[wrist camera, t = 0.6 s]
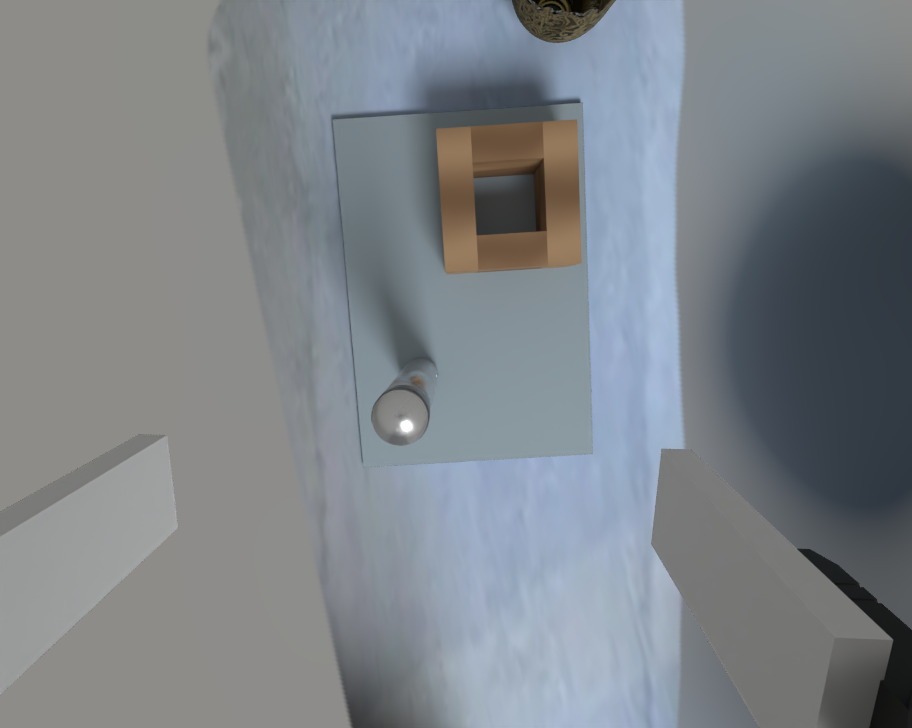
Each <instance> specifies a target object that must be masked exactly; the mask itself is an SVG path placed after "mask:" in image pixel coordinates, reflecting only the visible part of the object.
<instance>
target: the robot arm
mask: <svg viewBox="0 0 912 728" xmlns="http://www.w3.org/2000/svg"><path fill="white" fill-rule="evenodd" d="M177 528H178V524H177V516H176V507H175V498H174V490H173V481H172V473H171V464H170V456H169V448H168V439H167V435H144V434H139V435H137V436H135V437H134V438H132V439H130V440H128V441H126V442H125V443H123V444H121V445H119V446H117V447H116V448H114V449H112V450H110V451H108V452H107V453H105V454H103V455H101V456H100V457H98V458H96V459H94V460H92V461H90V462H89V463H87V464H85V465H83V466H81V467H80V468H78V469H76V470H74V471H73V472H71V473H69V474H67V475H65V476H63V477H62V478H60V479H58V480H56V481H54V482H53V483H51V484H49V485H48V486H46V487H44V488H42V489H40V490H38V491H36V492H35V493H33V494H31V495H29V496H28V497H26V498H24V499H22V500H20V501H18V502H17V503H15V504H13V505H11V506H10V507H8V508H6V509H4V510H3V511H1V512H0V695H1V694H2V693H3V692H4V691H5V690H6V689H7V688H8V687H9V686H11V685H12V683H14V682H15V681H16V680H17V679H18V678H19V677H20V676H21V675H22V674H23V673H24V672H25V671H26V670H27V669H29V668H30V667H31V666H32V665H33V664H34V663H35V662H36V661H37V660H38V659H39V658H40V657H41V656H42V655H43V654H44V653H46V652H47V651H48V650H49V649H50V648H51V647H52V646H53V645H54V644H55V643H56V642H57V641H58V640H59V639H60V638H61V637H63V636H64V635H65V634H66V633H67V632H68V631H69V630H70V629H71V628H72V627H73V626H74V625H75V624H76V623H77V622H78V621H80V619H82V618H83V617H84V616H85V615H86V614H87V613H88V612H89V611H90V610H91V609H92V608H93V607H94V606H95V605H97V603H99V602H100V601H101V600H102V599H103V598H104V597H105V596H106V595H107V594H108V593H109V592H110V591H111V590H112V589H114V588H115V587H116V586H117V585H118V584H119V583H120V582H121V581H122V580H123V579H124V578H125V577H126V576H127V575H128V574H129V573H130V572H132V571H133V570H134V568H136V567H137V566H138V565H139V564H140V563H141V562H142V561H143V560H144V559H145V558H146V557H147V556H149V555H150V554H151V553H152V552H153V551H154V550H155V549H156V548H157V547H158V546H159V545H160V544H161V543H162V542H163V541H164V540H166V538H168V537H169V536H170V535H171V534H172V533H173V532H174V531H175V530H176V529H177ZM651 544H652V546H653V548H654V549H655V551H656V553H657V555H658V556H659V558H660V560H661V561H662V563H663V565H664V566H665V568H666V570H667V572H668V573H669V575H670V577H671V578H672V580H673V582H674V583H675V585H676V587H677V589H678V590H679V592H680V594H681V595H682V597H683V599H684V601H685V602H686V604H687V606H688V607H689V609H690V610H691V612H692V614H693V616H694V618H695V619H696V621H697V623H698V624H699V626H700V628H701V629H702V631H703V633H704V635H705V636H706V638H707V640H708V641H709V643H710V645H711V646H712V648H713V650H714V651H715V653H716V655H717V657H718V658H719V660H720V662H721V663H722V665H723V667H724V669H725V670H726V672H727V674H728V675H729V677H730V679H731V680H732V682H733V683H734V685H735V687H736V689H737V691H738V692H739V694H740V696H741V697H742V699H743V701H744V703H745V704H746V706H747V708H748V709H749V711H750V713H751V714H752V716H753V718H754V720H755V721H756V723H757V725H758V726H759V728H912V630H911V629H910V628H909V627H908V626H907V625H906V624H904V623H903V622H902V621H901V620H900V619H899V618H898V617H896V616H895V615H894V614H893V613H892V612H891V611H890V610H888V609H887V608H886V607H885V606H884V605H883V604H881V603H878V602H877V599H876V598H875V597H874V596H873V595H871V594H870V593H869V592H868V591H867V590H866V589H865V588H864V587H860V586H859V583H858V582H857V581H856V580H854V579H853V578H852V577H851V576H850V575H849V574H848V573H846V572H845V571H844V570H843V569H842V568H841V567H840V566H839V565H837V564H835V563H833V562H832V561H830V560H828V559H826V558H825V557H823V556H821V555H819V554H817V553H816V552H814V551H812V550H810V549H796V548H795V547H794V546H793V545H792V544H791V543H790V542H789V541H788V540H787V539H786V538H785V537H784V536H783V535H782V534H780V533H779V532H778V531H777V530H776V529H775V528H774V527H773V526H772V525H771V524H770V523H769V522H768V521H767V520H766V519H765V518H763V517H762V516H761V515H760V514H759V513H758V512H757V511H756V510H755V509H754V508H753V507H752V506H751V505H750V504H749V503H747V501H746V500H744V499H743V498H742V497H741V496H740V495H739V494H738V493H737V492H736V491H735V490H734V489H733V488H731V486H730V485H729V484H727V483H726V482H725V481H724V480H723V479H722V478H721V477H720V476H719V475H718V474H717V473H716V472H715V471H714V470H713V469H712V468H710V467H709V466H708V465H707V464H706V463H705V462H704V461H703V460H702V459H701V458H700V457H699V456H698V455H697V454H696V453H695V452H694V451H693V450H687V449H662V450H661V460H660V469H659V478H658V487H657V496H656V505H655V514H654V523H653V532H652V541H651Z"/></svg>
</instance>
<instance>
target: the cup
mask: <svg viewBox="0 0 912 728" xmlns="http://www.w3.org/2000/svg"><path fill="white" fill-rule="evenodd" d="M615 1H616V0H512V2H513V6H514V9H515V12H516V14H517V17H518V18H519V20H520V22H521V23H522V24H523V26H524V27H525V28H526V29H527V30H528V31H529V32H530V33H531V34H532V35H534V36H535V37H537V38H539V39H541V40H544V41H547V42H553V43H560V42H567V41H571V40H574V39H576V38H578V37H580V36H582V35H583V34H585V33H586V32H588V31H589V30H590V29H591V28H592V27H594V26H595V25H596V24H597V23H598V21H599V20H600V19H601V18H602V17H603V16H604V15H605V13H606V12H607V11H608V10H609V8H610V7H611V6H612V4H613V3H614V2H615ZM547 5H556V6H557V7H559V8H560V11H554V10H553V9H552V8H551V7H545V6H547ZM544 7H545V8H544Z"/></svg>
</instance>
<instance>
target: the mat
mask: <svg viewBox="0 0 912 728" xmlns="http://www.w3.org/2000/svg"><path fill="white" fill-rule="evenodd" d="M575 119H577V128H578V161H579V194H580V227H581V260H582V263H580V264H576V265H573V266H569V267H559V268H543V269H527V270H512V271H496V272H480V273H464V274H448V275H447V274H446V272H445V261H444V246H443V230H442V215H441V199H440V183H439V168H438V152H437V136H436V129H441V128H456V127H471V126H486V125H501V124H515V123H530V122H545V121H560V120H575ZM333 130H334V141H335V152H336V164H337V175H338V186H339V198H340V209H341V220H342V232H343V243H344V254H345V265H346V277H347V288H348V299H349V311H350V322H351V333H352V345H353V356H354V367H355V378H356V390H357V401H358V412H359V424H360V435H361V446H362V458H363V467H380V466H397V465H414V464H431V463H449V462H466V461H483V460H500V459H517V458H534V457H551V456H568V455H586V454H593V440H592V405H591V370H590V336H589V301H588V266H587V231H586V197H585V162H584V127H583V103H571V104H556V105H542V106H527V107H512V108H497V109H482V110H468V111H453V112H438V113H423V114H409V115H394V116H379V117H364V118H349V119H335V120H333ZM473 181H474V199H475V217H476V235H492V234H508V233H523V232H536V213H535V189H534V174H530V175H515V176H499V177H484V178H473ZM414 358H426V359H429V360H430V361H432V362H433V363H434V364H435V365H436V367H437V369H438V373H439V379H438V383H437V387H436V391H435V395H434V399H433V403H432V407H431V411H430V419H429V423H428V427H427V429H426V431H425V433H424V434H423V435H422V437H421V438H420V439H418V440H417V441H415V442H414V443H411V444H408V445H404V446H397V445H392V444H389V443H387V442H385V441H384V440H382V439H381V438H380V437H379V436H378V435H377V434H376V432H375V430H374V428H373V425H372V421H371V413H372V408H373V406H374V404H375V402H376V401H377V399H378V398H379V397H380V396H381V394H382V393H383V392H384V391H386V389H387V388H388V387H389V386H390V384H391V383H392V382H393V381H394V379H395V378H396V377H397V375H398V374H399V373H400V372H401V370H402V369H403V368H404V366H405V365H406V364H407V363H408V362H409V361H410V360H412V359H414Z"/></svg>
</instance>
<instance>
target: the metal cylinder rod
mask: <svg viewBox="0 0 912 728" xmlns="http://www.w3.org/2000/svg"><path fill="white" fill-rule="evenodd" d="M438 379H439V373H438V369H437V367H436V365H435V364H434V363H433V362H432V361H430V360H429V359H426V358H414V359H412V360H410V361H409V362H408V363H407V364H406V365H405V366H404V368H403V369H402V370H401V372H400V373H399V374H398V375H397V377H396V378H395V379H394V381H393V382H392V383H391V384H390V386H389V387H388V388H387V389H386V391H384V392H383V393H382V394H381V396H380V397H379V398H378V399H377V401H376V402H375V404H374V406H373V408H372V413H371V421H372V425H373V428H374V430H375V432H376V434H377V435H378V436H379V437H380V438H381V439H382V440H384V441H385V442H387V443H389V444H392V445H397V446H404V445H408V444H411V443H414V442H415V441H417V440H418V439H420V438H421V437H422V435H423V434H424V433H425V431H426V429H427V427H428V423H429V419H430V411H431V407H432V403H433V399H434V395H435V391H436V387H437V383H438Z"/></svg>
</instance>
